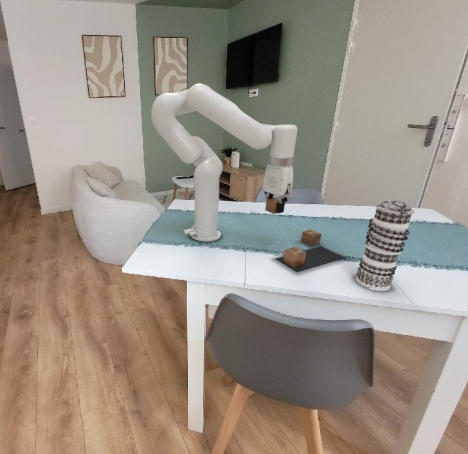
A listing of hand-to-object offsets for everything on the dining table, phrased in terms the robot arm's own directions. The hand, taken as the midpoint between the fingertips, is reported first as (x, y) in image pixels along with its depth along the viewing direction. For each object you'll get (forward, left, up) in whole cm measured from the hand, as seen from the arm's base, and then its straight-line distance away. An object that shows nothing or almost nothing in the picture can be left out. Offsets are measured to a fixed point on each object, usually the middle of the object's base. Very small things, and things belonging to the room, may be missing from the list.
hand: (274, 210), depth 109 cm
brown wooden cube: (-5, -16, -13) cm, 21 cm away
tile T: (+13, -7, -13) cm, 20 cm away
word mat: (+3, -16, -13) cm, 21 cm away
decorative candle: (+8, -34, -14) cm, 38 cm away
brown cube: (0, 0, 0) cm, 0 cm away
